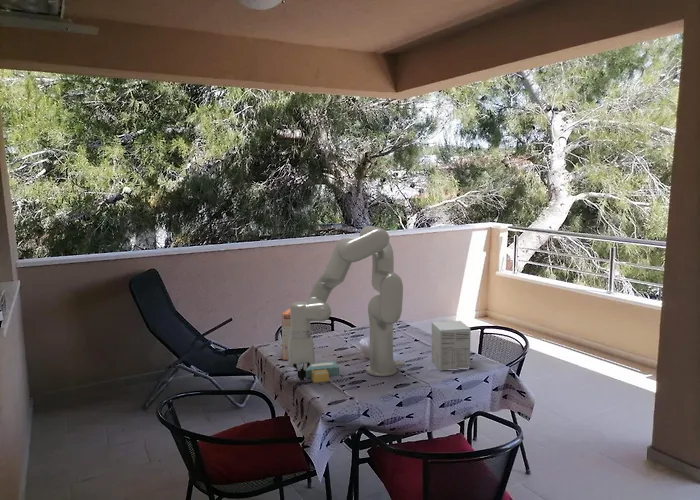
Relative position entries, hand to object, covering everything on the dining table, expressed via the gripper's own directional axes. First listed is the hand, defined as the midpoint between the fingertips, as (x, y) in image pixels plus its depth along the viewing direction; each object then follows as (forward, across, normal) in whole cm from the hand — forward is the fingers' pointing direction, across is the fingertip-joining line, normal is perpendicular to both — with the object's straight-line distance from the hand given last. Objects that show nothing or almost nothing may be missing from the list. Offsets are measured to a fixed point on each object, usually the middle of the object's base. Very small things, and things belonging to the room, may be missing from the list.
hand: (301, 379), depth 211 cm
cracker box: (+1, -1, -32) cm, 32 cm away
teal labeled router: (+1, -9, -7) cm, 11 cm away
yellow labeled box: (+1, -7, 0) cm, 7 cm away
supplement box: (+1, -63, -1) cm, 63 cm away
